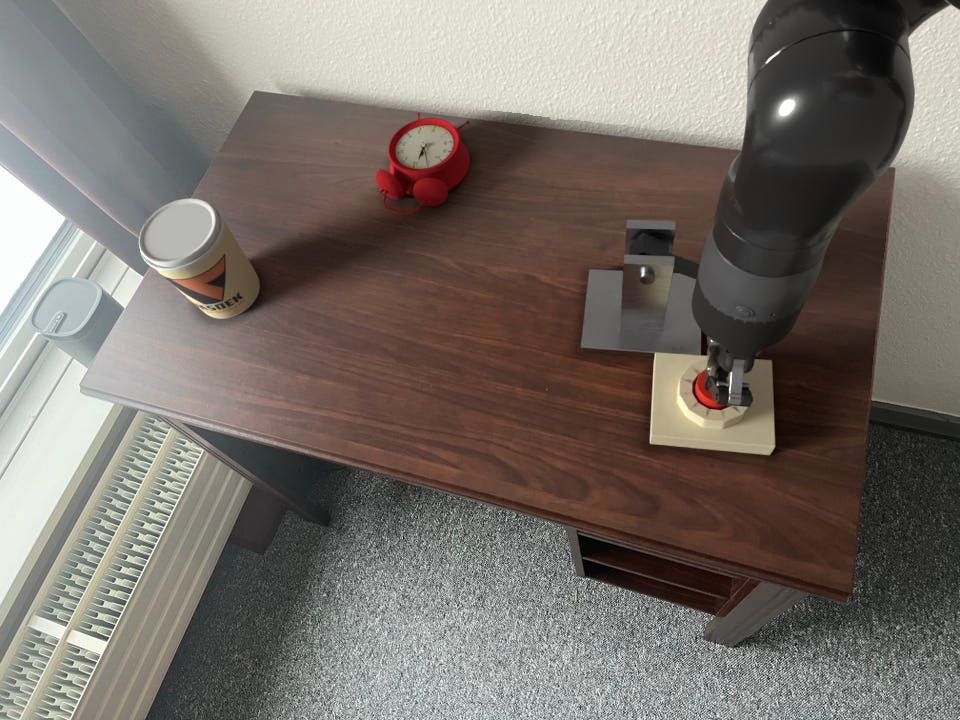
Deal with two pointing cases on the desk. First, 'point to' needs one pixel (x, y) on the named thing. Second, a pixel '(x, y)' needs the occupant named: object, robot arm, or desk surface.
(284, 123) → the desk surface
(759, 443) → the control block
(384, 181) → the alarm clock
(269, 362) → the desk surface
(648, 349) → the bracket
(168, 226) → the cream tin can
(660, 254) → the lever
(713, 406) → the button
